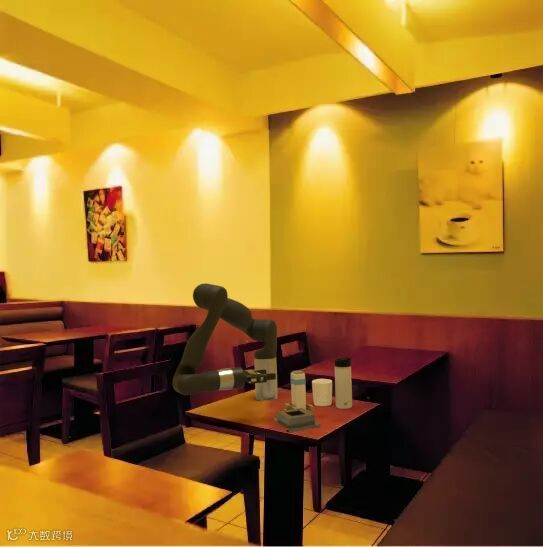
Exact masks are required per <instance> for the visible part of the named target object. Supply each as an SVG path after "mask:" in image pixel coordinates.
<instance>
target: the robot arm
mask: <svg viewBox="0 0 543 547" xmlns="http://www.w3.org/2000/svg"><path fill="white" fill-rule="evenodd" d="M228 296H229V295H228V291H227V289H226V288H225V287H224V286H221V285H215V284H212V283H201V284H198V285H197V286H196V287H194V290H193V291H192V299H193V301H194V303H195V305H196V306H197V307H198V308H199V309H202V310H205V311H207V314H206V317H205V319H204V321H203V322H202V323H201V325H200V326H199V327H198V328H196V329H195V331H194V332H193V333H192V334H191V336H190V337H189V338H188V340H187V342H186V345H185V347H184V350H183V353H182V356H181V361H180V362H179V364H178V366H177V367H176V370H175V373H174V375H173V377H172V387H173V389H174V391H175V392H177V393H179V395H180V394H181V395H183V396H191V395H197V394H201V393H204V392H215V391H227V390H239V389H243V387H245V384H246V383H248V384H251V385H252V384H253V385H254V386H255V387H254V388H255V400H256V401H262V402H263V401H270V400H277V399H278V374H277V373H278V371H277V349H278V327H277V323H276V321H275V320H274V319H265V318H264V319H258V318H253V314H252V311H251V309H250V308H249V307H248V306H246V305H244V304H243V303H242V302H240V301H238V300H235V299H232V298H229V297H228ZM220 319H221V320H223V321H224V322H226V323H227V324H228V325H230V326H232V327H234V328H236V329H238V330H239V331H241V332H242V333H244V334H245V335H246V336H247V337H248V338H250V339H251V340H253V341H255V342H264V346H263V347H262V348H259V349H256V350H255V351H254V352H253V360H254V361H253V362H254V369H252V368H250V369H243V367H241V366H238V367H237V366H236V367H228V368H221V369H216V370H208V371H204V372H202V373H196V372H197V370H198V369H199V368H201V365H202V363H203V361H204V357H205V353H206V350H207V348H208V344H209V341H210V339H211V337H212V335H213V332H214V330H216V327H217V325H218V324H219V321H220Z"/></svg>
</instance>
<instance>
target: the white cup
mask: <svg viewBox="0 0 543 547" xmlns="http://www.w3.org/2000/svg"><path fill="white" fill-rule="evenodd" d="M311 387H312V388H311V389H312V398H313V404H314V405H315V406H317V407H327V406H331V405H332V402H333V401H332V400H333V396H332V395H333V380H332V379H330V378H329V379H327V378H317V379H313V380H312V381H311ZM314 405H313V406H314Z"/></svg>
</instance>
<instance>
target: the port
mask: <svg viewBox="0 0 543 547" xmlns="http://www.w3.org/2000/svg"><path fill="white" fill-rule="evenodd" d="M275 415H276V418H272V419H271V420H272V421H274V422H275V423H277V424H278V425H280V426H282V427H283V428H285V429H286V430H285V431H286V432H287V433H294V432H295V433H296V432H300V431H306V430H307V431H308V430H311V429H317V428H321V423H319V422H317V421H316V419H315V416H316V415H315V413H313V412H308V411H306V410H304V409H302V408H298V409H292V410H281V411H280V410H279V411H276V414H275Z"/></svg>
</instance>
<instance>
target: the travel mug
mask: <svg viewBox="0 0 543 547" xmlns="http://www.w3.org/2000/svg"><path fill="white" fill-rule="evenodd" d="M352 383H353V382H352V357H351V356H349V357H347V356H346V357H339V358H337V359H334V386H335V387H334V388H335V389H334V390H335V394H334V395H335V408H337V409H339V410H340V409H341V410H346V409H348V410H349V409H352V408H353V390H352V389H353V388H352V386H353V385H352Z"/></svg>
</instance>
